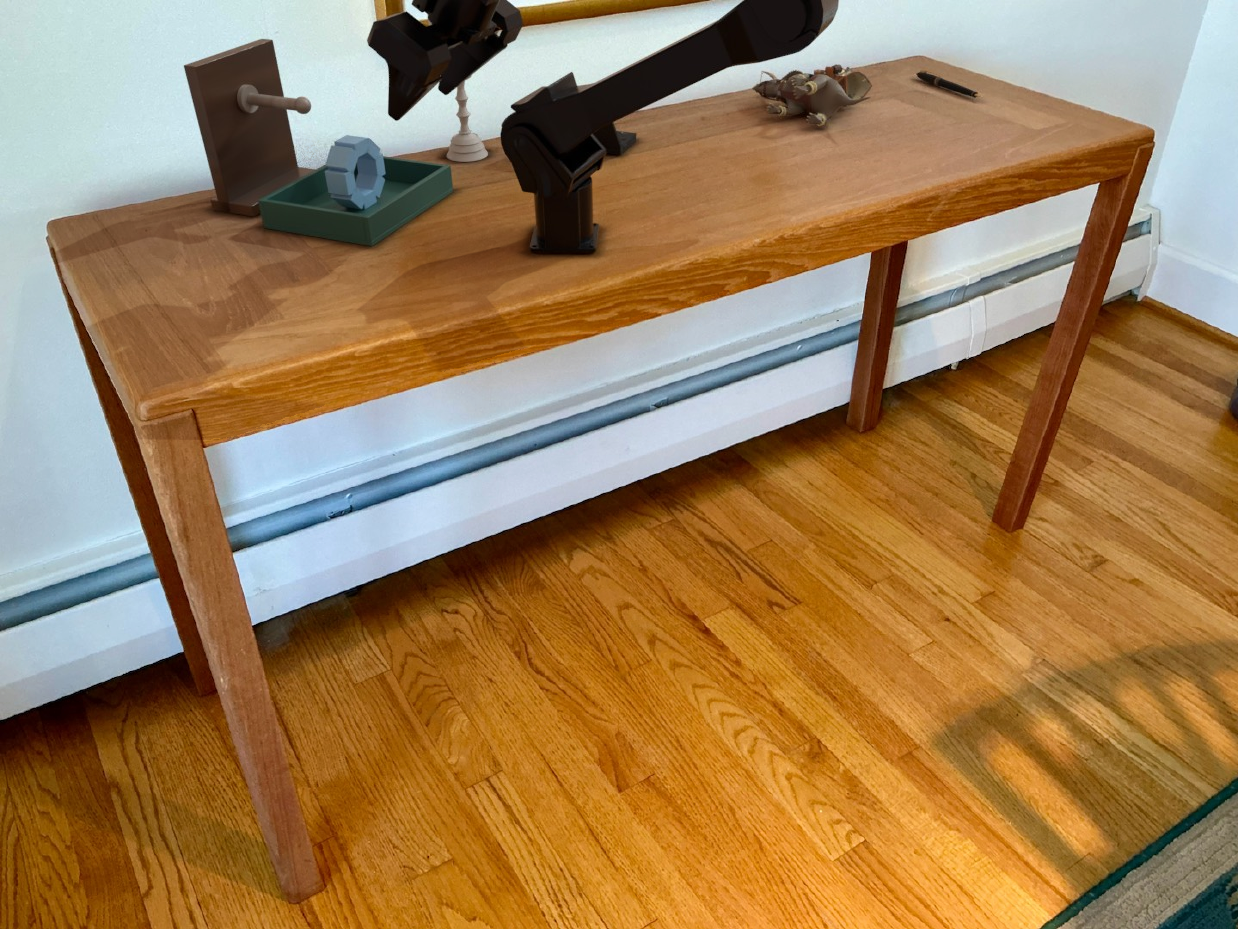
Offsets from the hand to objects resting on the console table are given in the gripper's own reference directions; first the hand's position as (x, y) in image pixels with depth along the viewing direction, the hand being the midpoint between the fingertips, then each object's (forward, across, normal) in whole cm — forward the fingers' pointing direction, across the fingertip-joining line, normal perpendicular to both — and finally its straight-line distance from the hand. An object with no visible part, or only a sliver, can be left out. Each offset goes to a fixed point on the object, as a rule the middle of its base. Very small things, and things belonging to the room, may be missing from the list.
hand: (418, 104), depth 97 cm
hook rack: (+20, 0, -9) cm, 22 cm away
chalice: (+14, -20, +1) cm, 24 cm away
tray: (+15, 0, -1) cm, 15 cm away
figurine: (-5, -53, +31) cm, 62 cm away
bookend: (+7, -27, +11) cm, 30 cm away
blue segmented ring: (+11, 0, -3) cm, 12 cm away
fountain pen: (-13, -69, +44) cm, 83 cm away
